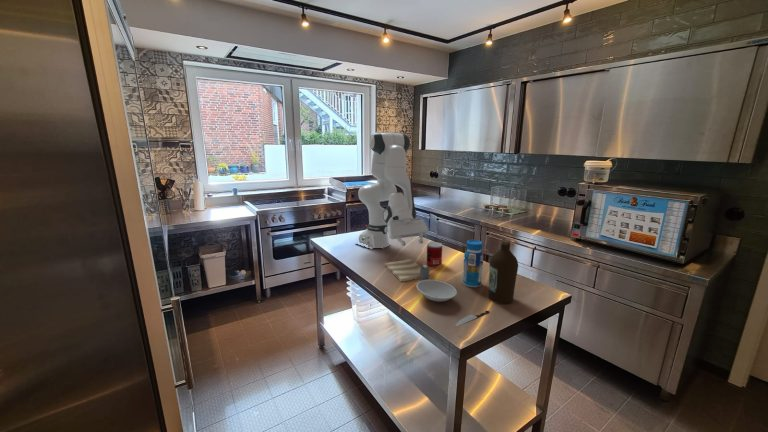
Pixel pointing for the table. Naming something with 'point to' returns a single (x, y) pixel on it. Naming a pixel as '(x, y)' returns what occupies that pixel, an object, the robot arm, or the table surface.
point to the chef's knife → (470, 318)
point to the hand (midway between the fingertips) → (412, 244)
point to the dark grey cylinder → (424, 273)
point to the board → (404, 269)
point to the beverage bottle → (473, 264)
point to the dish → (436, 290)
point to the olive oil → (502, 274)
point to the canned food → (434, 254)
